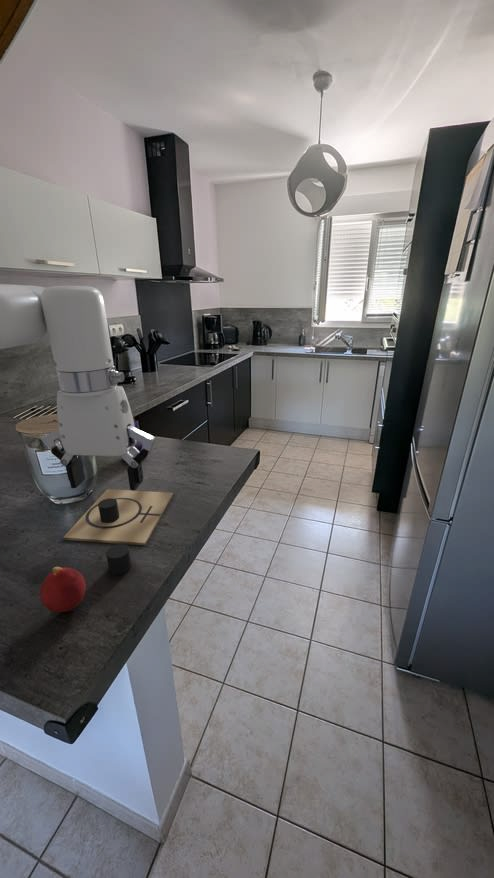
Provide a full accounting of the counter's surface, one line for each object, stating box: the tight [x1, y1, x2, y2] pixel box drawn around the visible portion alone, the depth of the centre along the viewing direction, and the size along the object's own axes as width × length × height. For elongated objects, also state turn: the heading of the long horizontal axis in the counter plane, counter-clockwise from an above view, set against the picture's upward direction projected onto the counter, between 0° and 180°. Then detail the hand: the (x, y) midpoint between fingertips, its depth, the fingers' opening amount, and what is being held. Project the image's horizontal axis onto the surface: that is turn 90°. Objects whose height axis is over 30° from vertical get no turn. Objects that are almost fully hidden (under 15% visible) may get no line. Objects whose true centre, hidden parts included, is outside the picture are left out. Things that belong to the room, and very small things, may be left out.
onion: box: [39, 566, 87, 614], centre depth 51 cm, size 6×6×8 cm
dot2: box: [105, 544, 133, 576], centre depth 60 cm, size 4×4×4 cm
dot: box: [98, 498, 119, 523], centre depth 72 cm, size 4×4×4 cm
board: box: [62, 488, 174, 546], centre depth 75 cm, size 16×18×1 cm
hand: (107, 485), depth 57 cm, fingers open, 9 cm apart
